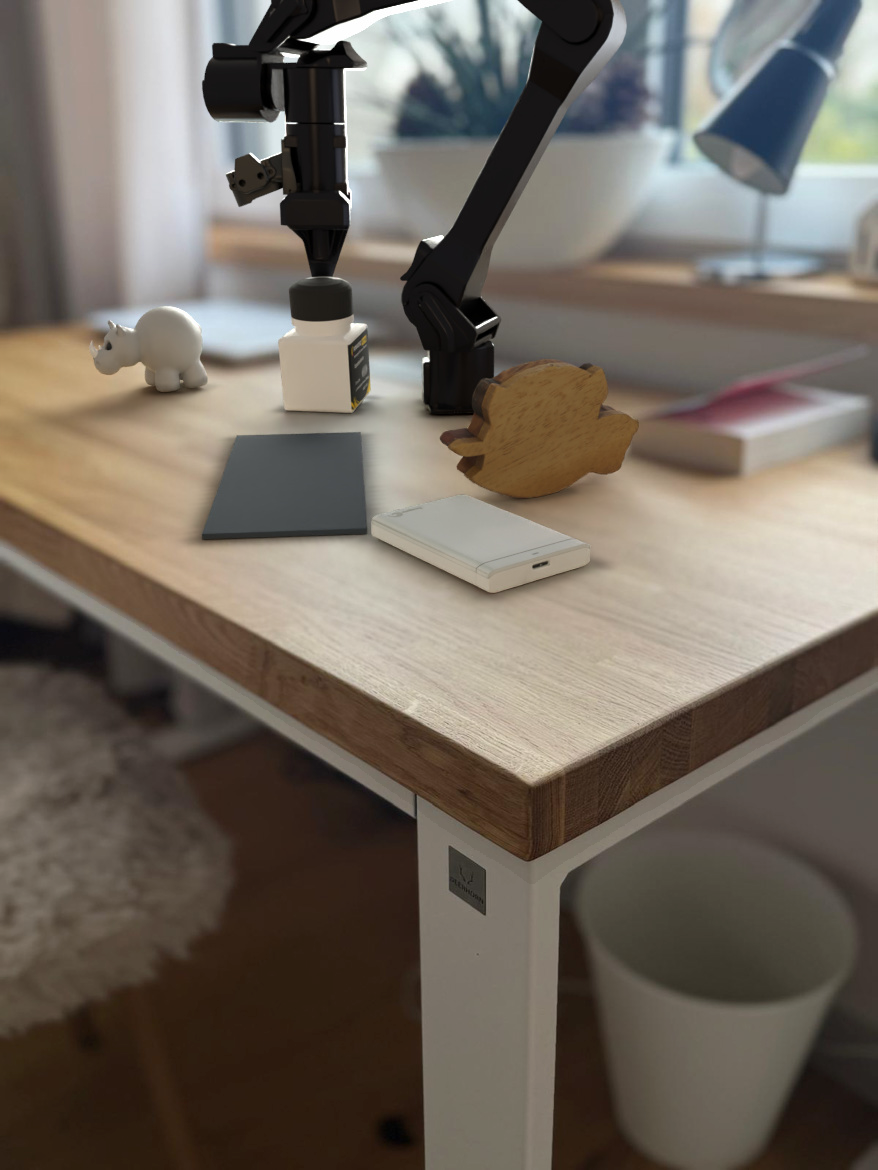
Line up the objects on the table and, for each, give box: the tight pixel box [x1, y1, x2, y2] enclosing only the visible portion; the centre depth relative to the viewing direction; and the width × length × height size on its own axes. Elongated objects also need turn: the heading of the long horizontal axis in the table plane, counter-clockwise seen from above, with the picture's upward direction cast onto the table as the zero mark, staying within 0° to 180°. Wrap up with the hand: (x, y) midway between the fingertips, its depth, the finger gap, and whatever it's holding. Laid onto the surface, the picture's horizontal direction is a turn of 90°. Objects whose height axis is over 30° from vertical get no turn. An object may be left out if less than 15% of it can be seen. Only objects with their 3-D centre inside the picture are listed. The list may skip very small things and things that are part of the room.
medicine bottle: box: [277, 276, 372, 414], centre depth 106 cm, size 7×7×12 cm
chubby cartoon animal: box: [88, 305, 208, 393], centre depth 114 cm, size 7×12×8 cm, turn 121°
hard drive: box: [370, 493, 591, 594], centre depth 69 cm, size 2×8×12 cm
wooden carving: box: [439, 358, 640, 499], centre depth 79 cm, size 16×5×10 cm, turn 123°
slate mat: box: [201, 431, 368, 540], centre depth 84 cm, size 11×26×1 cm, turn 5°
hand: (321, 294), depth 107 cm, fingers closed
